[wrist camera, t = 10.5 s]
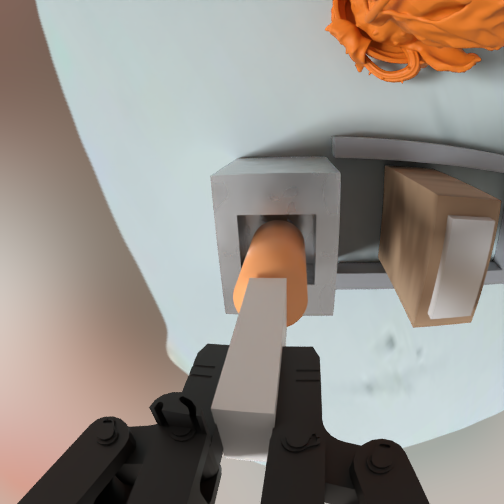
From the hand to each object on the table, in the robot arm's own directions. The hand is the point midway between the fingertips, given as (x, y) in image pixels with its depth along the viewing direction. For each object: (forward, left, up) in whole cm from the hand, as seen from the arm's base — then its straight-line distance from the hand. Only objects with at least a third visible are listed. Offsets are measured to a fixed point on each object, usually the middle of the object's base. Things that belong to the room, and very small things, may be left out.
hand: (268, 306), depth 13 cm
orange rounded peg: (0, 0, -6) cm, 6 cm away
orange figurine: (-16, +9, -14) cm, 23 cm away
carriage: (0, +11, -13) cm, 17 cm away
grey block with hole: (0, 0, -13) cm, 13 cm away
